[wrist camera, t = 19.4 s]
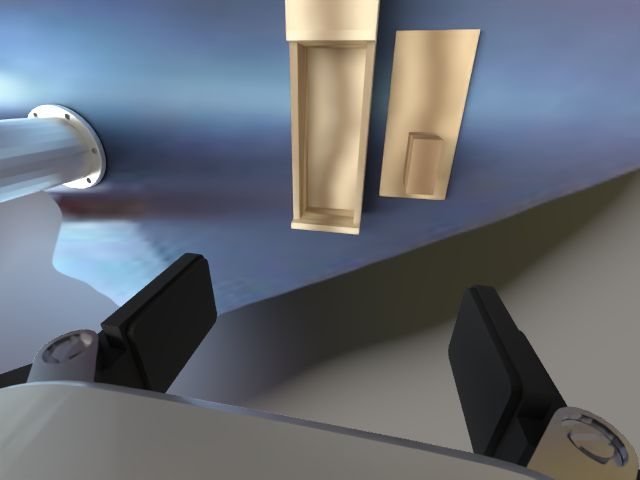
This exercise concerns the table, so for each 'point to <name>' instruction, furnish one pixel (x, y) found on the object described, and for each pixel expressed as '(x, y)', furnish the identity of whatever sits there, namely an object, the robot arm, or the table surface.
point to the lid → (425, 110)
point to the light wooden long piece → (330, 108)
